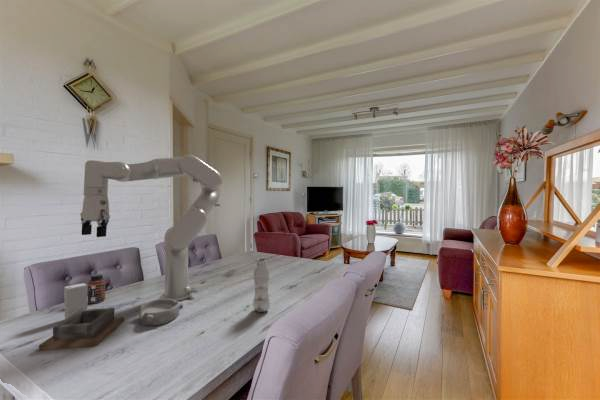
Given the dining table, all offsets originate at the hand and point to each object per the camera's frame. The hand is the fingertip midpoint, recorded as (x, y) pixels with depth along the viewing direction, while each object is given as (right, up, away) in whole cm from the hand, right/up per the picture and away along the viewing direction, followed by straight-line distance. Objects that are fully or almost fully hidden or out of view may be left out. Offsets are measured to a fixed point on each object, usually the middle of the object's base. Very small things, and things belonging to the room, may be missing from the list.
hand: (93, 235), depth 106 cm
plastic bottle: (+66, -30, 0) cm, 72 cm away
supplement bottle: (-6, -29, +9) cm, 31 cm away
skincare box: (-1, -30, -8) cm, 30 cm away
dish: (+30, -30, -6) cm, 42 cm away
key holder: (+12, -29, -19) cm, 37 cm away
